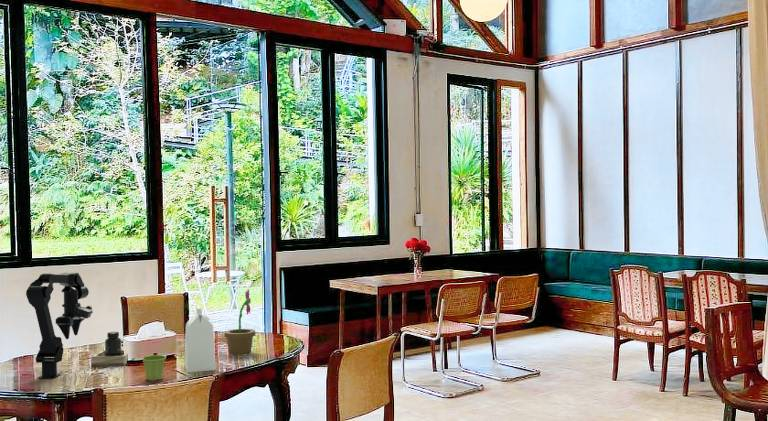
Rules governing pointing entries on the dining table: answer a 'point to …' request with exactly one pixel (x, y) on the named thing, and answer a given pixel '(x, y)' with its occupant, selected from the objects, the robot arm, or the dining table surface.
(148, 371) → the plant pot
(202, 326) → the milk
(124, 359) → the box
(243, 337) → the flowerpot
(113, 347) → the supplement bottle
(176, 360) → the dining table surface
